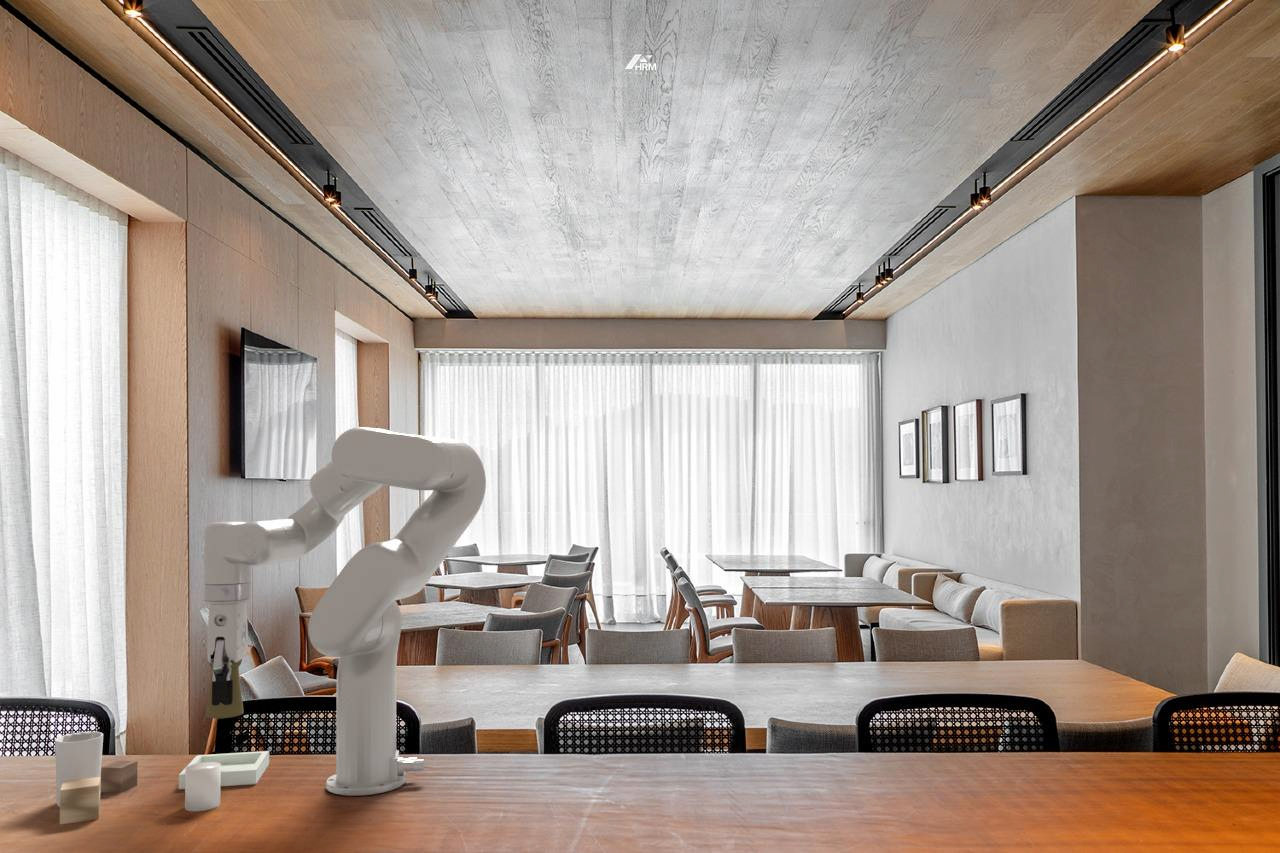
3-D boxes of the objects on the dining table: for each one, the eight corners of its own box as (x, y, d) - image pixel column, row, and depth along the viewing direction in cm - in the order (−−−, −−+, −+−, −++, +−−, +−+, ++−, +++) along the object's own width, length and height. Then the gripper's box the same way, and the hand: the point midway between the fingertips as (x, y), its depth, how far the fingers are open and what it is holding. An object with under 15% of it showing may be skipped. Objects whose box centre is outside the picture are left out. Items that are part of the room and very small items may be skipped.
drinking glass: (112, 797, 158) (113, 733, 159) (75, 810, 152) (77, 743, 152) (80, 793, 160) (81, 730, 161) (43, 806, 154) (44, 740, 154)
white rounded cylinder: (223, 799, 156) (223, 761, 156) (216, 810, 151) (216, 769, 151) (189, 802, 155) (190, 763, 155) (181, 812, 150) (181, 772, 150)
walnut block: (137, 785, 164) (137, 761, 164) (120, 793, 160) (121, 768, 161) (115, 784, 165) (115, 760, 165) (98, 792, 161) (99, 767, 161)
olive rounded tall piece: (229, 719, 166) (231, 652, 166) (197, 717, 167) (198, 651, 167) (251, 710, 172) (252, 646, 172) (219, 709, 173) (220, 645, 173)
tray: (269, 764, 176) (269, 750, 176) (256, 783, 164) (256, 769, 164) (196, 768, 173) (197, 755, 173) (178, 789, 162) (178, 774, 162)
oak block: (100, 809, 152) (100, 776, 152) (98, 819, 148) (99, 785, 148) (62, 815, 150) (63, 781, 150) (59, 825, 145) (60, 790, 146)
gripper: (240, 598, 163) (238, 711, 162) (259, 588, 179) (257, 690, 178) (191, 599, 161) (189, 713, 160) (215, 589, 178) (213, 692, 177)
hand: (225, 700), depth 169 cm, fingers closed on olive rounded tall piece, 4 cm apart
